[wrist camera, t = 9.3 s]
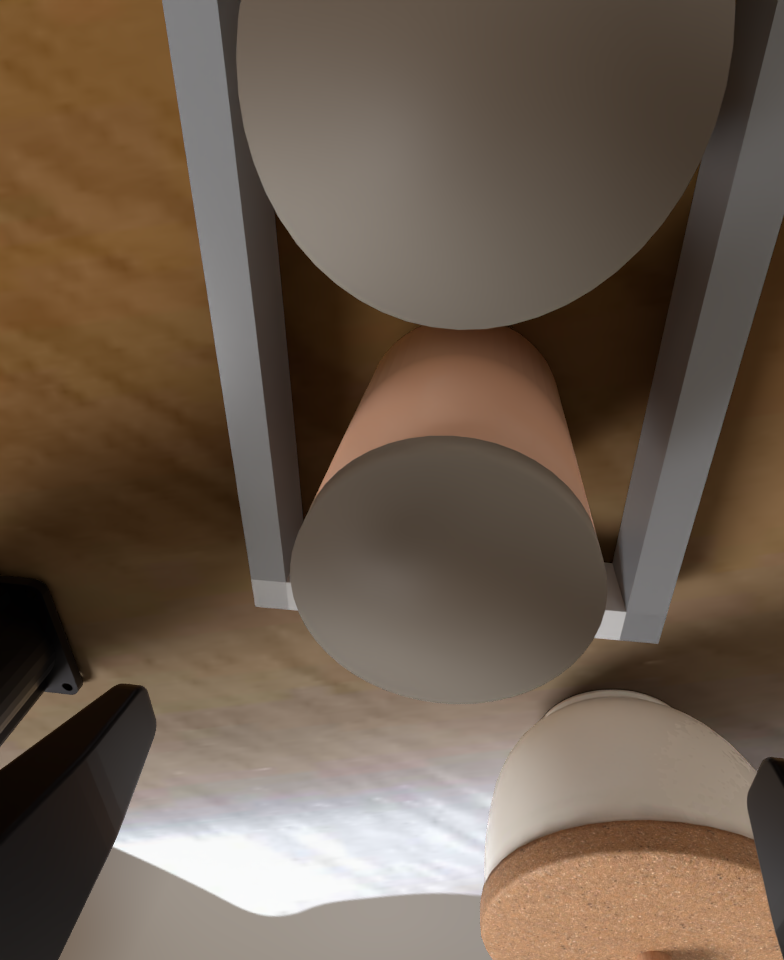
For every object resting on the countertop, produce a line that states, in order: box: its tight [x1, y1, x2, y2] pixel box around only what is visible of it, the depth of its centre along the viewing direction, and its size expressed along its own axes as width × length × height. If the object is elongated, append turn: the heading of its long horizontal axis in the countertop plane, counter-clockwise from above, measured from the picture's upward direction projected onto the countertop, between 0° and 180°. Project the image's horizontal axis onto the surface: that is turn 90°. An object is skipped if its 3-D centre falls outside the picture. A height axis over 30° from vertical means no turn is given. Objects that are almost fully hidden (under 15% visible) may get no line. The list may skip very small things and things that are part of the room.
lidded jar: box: [480, 689, 783, 960], centre depth 21 cm, size 11×11×9 cm
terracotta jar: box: [290, 325, 608, 704], centre depth 15 cm, size 6×6×9 cm
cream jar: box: [236, 0, 736, 330], centre depth 11 cm, size 6×6×9 cm
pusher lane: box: [162, 0, 784, 644], centre depth 15 cm, size 24×13×3 cm, turn 0°
